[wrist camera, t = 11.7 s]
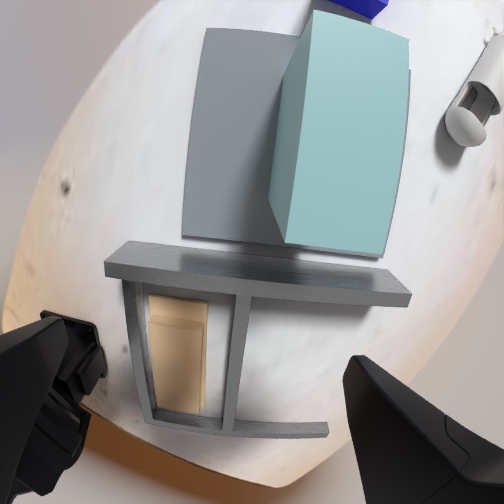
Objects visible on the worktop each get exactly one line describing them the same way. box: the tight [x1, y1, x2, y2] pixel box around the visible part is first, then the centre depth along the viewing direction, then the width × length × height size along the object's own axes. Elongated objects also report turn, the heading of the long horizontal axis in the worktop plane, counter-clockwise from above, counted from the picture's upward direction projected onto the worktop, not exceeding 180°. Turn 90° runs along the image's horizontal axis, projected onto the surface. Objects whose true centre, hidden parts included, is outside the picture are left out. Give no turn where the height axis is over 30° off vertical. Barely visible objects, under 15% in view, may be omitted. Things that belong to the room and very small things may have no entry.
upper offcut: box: [148, 314, 204, 414], centre depth 22 cm, size 4×10×1 cm, turn 172°
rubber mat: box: [182, 28, 411, 258], centre depth 16 cm, size 14×14×1 cm
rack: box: [104, 241, 412, 439], centre depth 21 cm, size 19×19×4 cm
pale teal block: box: [268, 9, 409, 254], centre depth 12 cm, size 4×8×9 cm, turn 173°
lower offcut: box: [148, 294, 208, 408], centre depth 23 cm, size 4×12×1 cm, turn 174°
